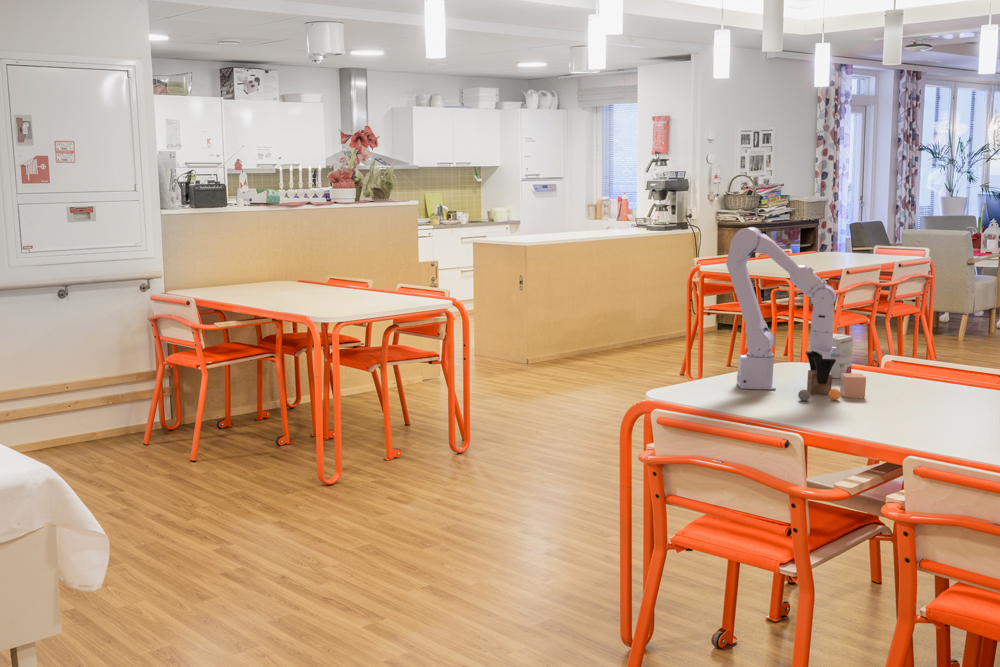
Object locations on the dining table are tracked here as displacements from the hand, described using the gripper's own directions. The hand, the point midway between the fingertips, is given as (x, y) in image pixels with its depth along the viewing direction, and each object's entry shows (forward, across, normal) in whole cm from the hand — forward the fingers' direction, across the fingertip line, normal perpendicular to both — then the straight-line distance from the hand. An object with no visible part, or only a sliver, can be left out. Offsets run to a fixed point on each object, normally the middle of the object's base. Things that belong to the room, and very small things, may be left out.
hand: (818, 380), depth 253 cm
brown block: (+3, 0, 0) cm, 3 cm away
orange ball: (+3, -9, -2) cm, 10 cm away
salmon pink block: (+3, -3, -8) cm, 9 cm away
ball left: (+3, -11, +6) cm, 13 cm away
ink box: (+3, +25, -9) cm, 27 cm away
